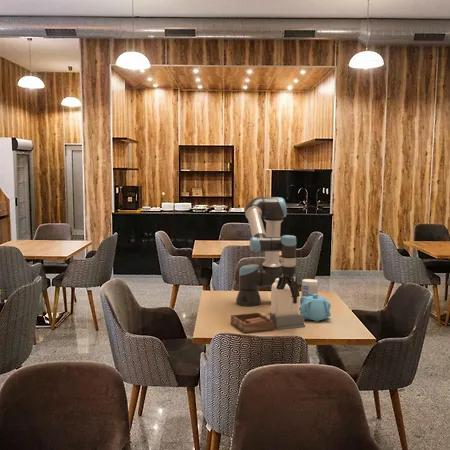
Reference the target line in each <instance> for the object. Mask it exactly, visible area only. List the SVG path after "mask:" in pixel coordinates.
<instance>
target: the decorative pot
mask: <svg viewBox="0 0 450 450" xmlns="http://www.w3.org/2000/svg"><path fill="white" fill-rule="evenodd" d="M303 298H305V299H304V301H303V302H302V299H303ZM299 305H300V306H299V314H304V320H311V321H314V322H320V321H321V320H325V319H327V318H330V317H331V316H332V313H331V311H330V309H331V307H332V306H331V302H330V301H328V300H327V298H326V297H324V296H323V295H321V296H319V294H318V293H317V294H312V296H308V297H305V296H304V297H301V296H300V297H299Z"/></svg>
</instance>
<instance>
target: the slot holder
mask: <svg viewBox="0 0 450 450" xmlns="http://www.w3.org/2000/svg"><path fill="white" fill-rule="evenodd" d="M269 319H271V320H272V321H274V330H277V331H279V330H281V331H282V330H288V329H297V328H306V324H305V319H304V314H300V313H299V315H289V316H279V317H275V313H274V314H272V313H269Z"/></svg>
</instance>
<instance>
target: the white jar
mask: <svg viewBox="0 0 450 450" xmlns="http://www.w3.org/2000/svg"><path fill="white" fill-rule="evenodd" d="M278 280H279V278H277V279H275V282H274V283H273V284H272V286H270V287H271V292H270V293H271V294H270V299H271V300H270V314H274V313H275V303H276V290H278V289H277V288H276V287H277V284H278ZM284 289H290V288H289V286H288V284H286V285H285V287H284Z"/></svg>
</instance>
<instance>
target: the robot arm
mask: <svg viewBox="0 0 450 450" xmlns="http://www.w3.org/2000/svg"><path fill="white" fill-rule="evenodd" d="M286 203H287V202H286V200H285V199H284V198H283V197H279V196H272V197H271V196H267V197H266V196H262V197H261V196H258V197H254V198H253V199H251V200H249V202H248V203H247V204H246V206H245V209H244V215H245V218H246V219H247V221H248V225H249V228H250V229H249V230H250V233H251V237H250V239H249V249H250V251H251V252H257V253H258V252H260V253H261V252H263V253H264V261H263V263H261V264H262V265H261V266H260V265H259V264H258V263H256V264H254V263H253V264H245V265H242V266H240V268H239V274H238V276H239V279H238V280H239V281H238V293H237V296H236V299H235V303H236V304H237V305H238V306H244V307H256V306H260V305H261V304H262V299H261V295H260V292H259V287H272V284H273V283H274V282H275V279H277V278H279V280H278V284H277V287H276V288H277V289H278V290H280V289H284V287H285V285H286V284H288V286H289V288H290V291H291V294H292V296H291V310H296V309H297V297H298V296H299V297H301V294H300V289H299V286H298V279H297V277H296V276H294V275H295V274H296V269H297V267H296V264H297V244H298V243H297V237H296V235H290V234H284V235H282V236H281V224H282V222H284V218H286V217H287V215H288V214H287V204H286ZM263 220H264V222H265V226H264V222H263ZM280 253H281V254H280ZM280 256H281V257H280Z"/></svg>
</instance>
